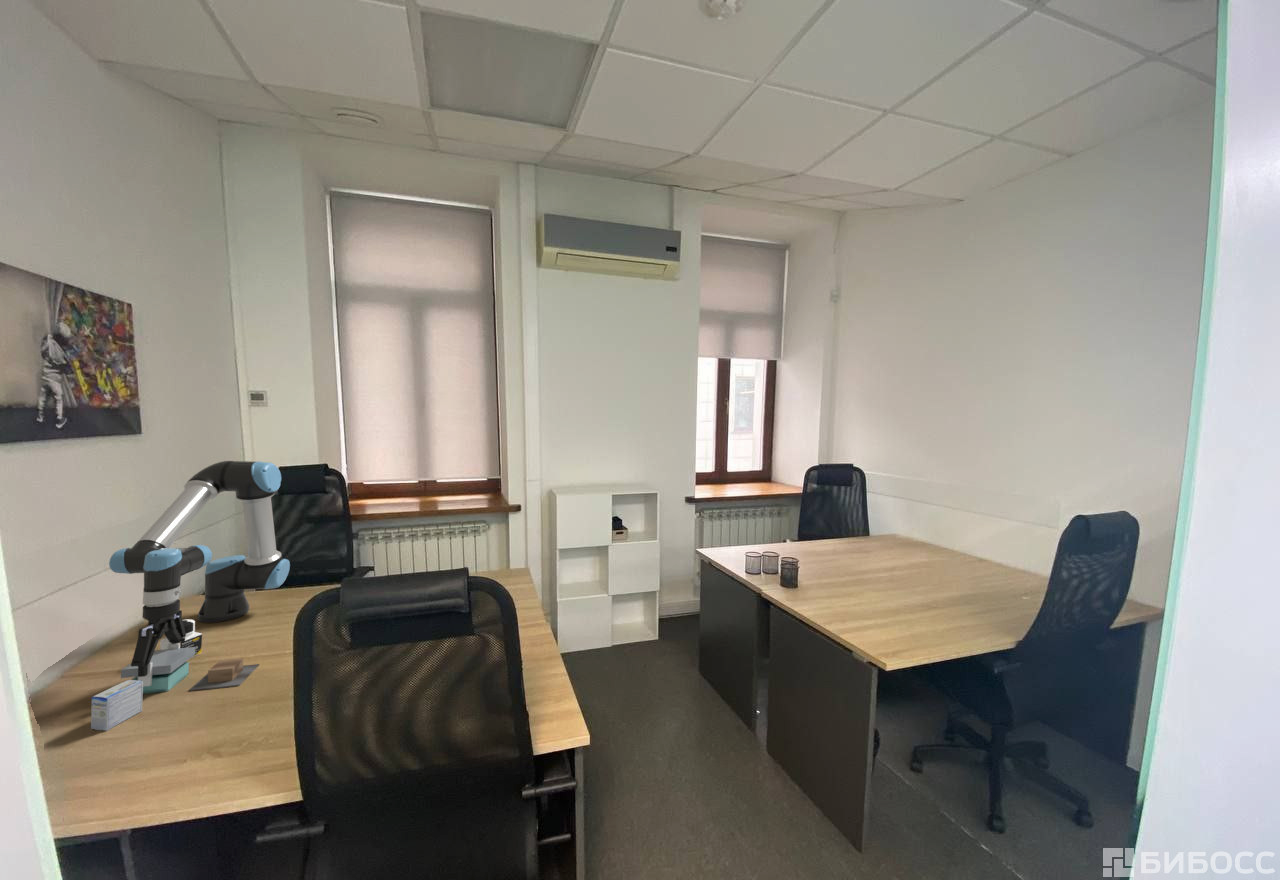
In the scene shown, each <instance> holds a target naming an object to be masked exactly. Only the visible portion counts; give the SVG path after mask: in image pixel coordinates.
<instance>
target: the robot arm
mask: <svg viewBox="0 0 1280 880" xmlns="http://www.w3.org/2000/svg"><path fill="white" fill-rule="evenodd" d="M281 482H282V474H281V471H280V469H279V468H278V467H277V465H276V464H274V463H272V462H267V461H261V460H259V461H246V460H245V461H244V460H243V461H242V460H241V461H239V460H235V461H234V460H223V461H218V462H216V463H214V464H211V465H208V466H207V467H205V468H203V469H201V470H200V471H198V472H197V473H195V474H194V475H193V476H192V477H191V478H190V479H188V480H187V482H186V483H185V484H184V486H183V487H184V490H183V491H182V492H181V494H179V496H178V497H176V498H175V500H174V501H173V502H172V503H171V504H170V505H169V507H167V508H166V510H165V511H164V512H163V513H162V514H161V516H159V518H157V520H156V521H155V522H154V523H153V524H152V525H151V526H150V528H149V529H147V531H146V532H145V533H144V534H143V535H142V536H141V537H140V538H139V540H137V542H136V543H135V544H134V545H133V546H132V547H127V548H121V549H119V550H116V551H115V552H114V553H112V555H111V557H110V559H109V563H108V565H109V569H111V571H112V572H114V573H115V574H129V575H132V574H143V592H142V595H143V596H142V604H143V606H142V618H143V619H144V620H146V621H147V625H146V627H144V628H139V629H138V632H137V633H138V636H137V637H138V638H137V642H136V644H135V649H134V653H133V655H132V660H131V662H130V664H131V666H132V667H133V666H138V681H143V687H144V686H150V685H152V663H153V662H150V661H151V658H152V656H153V653H154V651H155V650H156V649H157V645H158V643H159V640H160V639H163V638H162V637H163V635H164V636H165V638H167V639H168V640H169V642H170V643H172V644H168V645H167V649H178V648H180V642H184V641H185V638H183V637H185V636H186V632H185V628H184V624H183V620H184V619H183V617H182V614H183V610H180V608H181V607H180V606H181V600H180V598H181V593H182V590H181V577H182V576H183V575H186V574H189V573H192V572H194V571H197V570H199V569H202V568H203V567H205V566H206V567H205V573H204V575H205V576H204V600H203V602H202V604H201V607H200V608H199V611H198V614H197V621H198V622H199V623H203V624H204V623H206V624H207V623H208V624H209V623H211V624H212V623H213V624H214V623H220V622H221V623H222V622H227V621H230V620H234V618H235V619H237V618H240V617H242V615H243V616H244V614H245V615H246V614H247V612H248V611H250V604H249V601H248V599H247V596H246V594H245V590H268V589H276V588H279V587H280V586H281V585H283V584H284V582H285V581H286V579H287V577H288V575H289V572H290V567H291V563H290V560H289V559H286V558H283V555H282V552H281V551H279V550H277V543H276V535H275V525H274V523H275V522H274V515H273V514H274V513H273V506H272V497H273V496H275V495H276V492H277V491H278V490H279V488H280V487H281V485H282V484H281ZM223 492H235V498H236V499H237V500H238V501H240V502H242V504H241V505H242V511H243V518H244V519H243V520H244V527H245V534H246V535H245V536H246V544H247V551H248V552H247V553H248V556H247V557H246V555H243V554H240V555H239V554H238V555H231V556H225V557H221V558H217V559H214V560H212V559H213V553H212V550H211V549H210V548H209V547H208V546H206V545H203V544H196V545H190V546H188V547H173V548H172V547H171V546H172V545H173V544H174V542H175V541H176V540H177V539H178V537H180V535H181V534H182V533H183V532H184V531H185V530H186V528H187V527H188V526H189V525H190V523H191V522H193V520H194V519H195V518H196V516H197V515H198V514H199V512H201V510H203V508H204V507H205V505H206V504H207V503H208V502H209V500H213V499H215V498H216V497H217V496H218V495H219V494H220V493H223ZM248 613H249V612H248ZM179 633H181V634H179Z"/></svg>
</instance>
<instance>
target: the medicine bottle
mask: <svg viewBox="0 0 1280 880" xmlns="http://www.w3.org/2000/svg"><path fill="white" fill-rule="evenodd" d="M182 620H183V624H184V628H185V632H186V636H185V637H183V638H185V641H184V642H180V648H189V647H195V655H194V656H193V657H191V658H190V659H192V658H195V657H196V656H199V655H201V654H202V645H203V633H201V632H197V631H196V626H195V625H196V621H195V620H194V619H189V618H188V619H182ZM179 634H181V633H179ZM160 639H161V640H160V646H159V647H160V648H159V650H165V649H167V645H168V644H172V643H170V642H169V640H168V639H167V637H164V638H160Z"/></svg>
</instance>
